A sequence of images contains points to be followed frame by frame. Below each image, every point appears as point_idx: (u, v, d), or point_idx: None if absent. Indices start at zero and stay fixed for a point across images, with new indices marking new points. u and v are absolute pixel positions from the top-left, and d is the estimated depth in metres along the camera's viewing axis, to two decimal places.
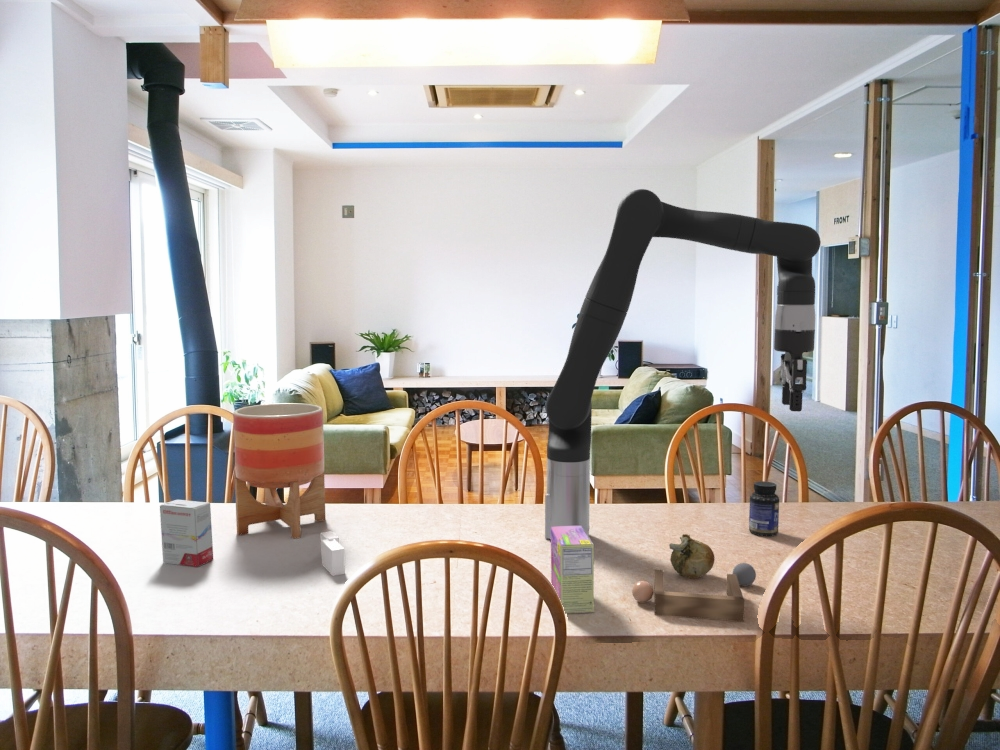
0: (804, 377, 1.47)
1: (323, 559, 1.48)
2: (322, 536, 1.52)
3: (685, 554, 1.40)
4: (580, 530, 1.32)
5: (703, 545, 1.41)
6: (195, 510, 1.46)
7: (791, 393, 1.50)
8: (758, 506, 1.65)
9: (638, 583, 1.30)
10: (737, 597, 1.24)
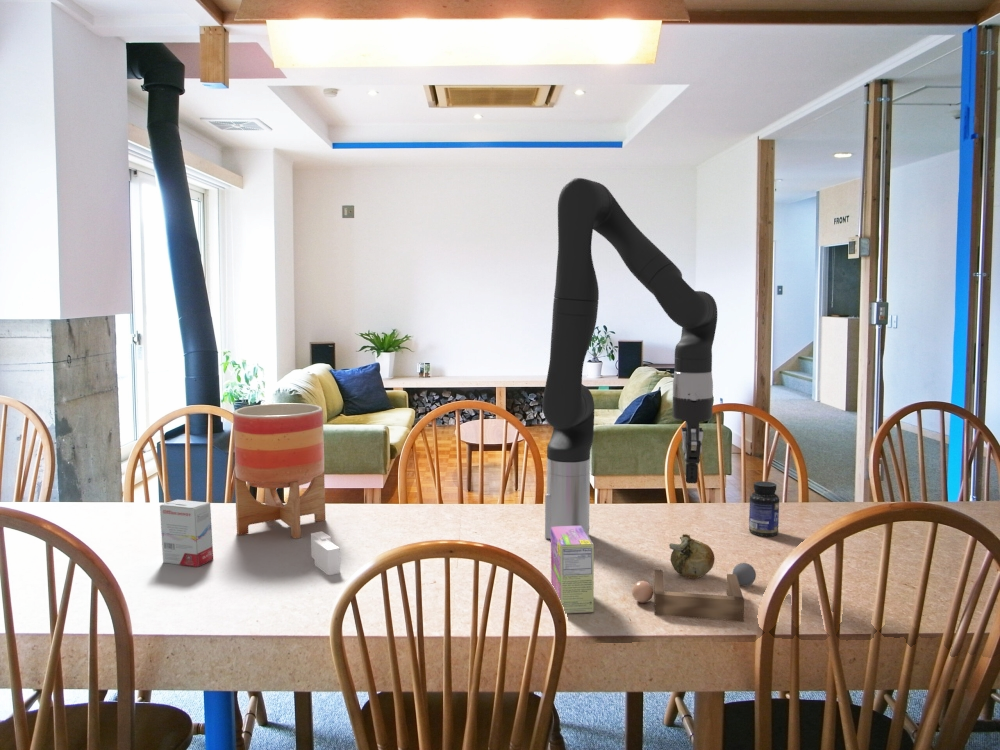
0: (697, 456, 1.45)
1: (316, 559, 1.48)
2: (313, 536, 1.52)
3: (685, 554, 1.40)
4: (580, 530, 1.32)
5: (703, 545, 1.41)
6: (195, 510, 1.46)
7: (686, 465, 1.49)
8: (758, 506, 1.65)
9: (638, 583, 1.30)
10: (737, 597, 1.24)
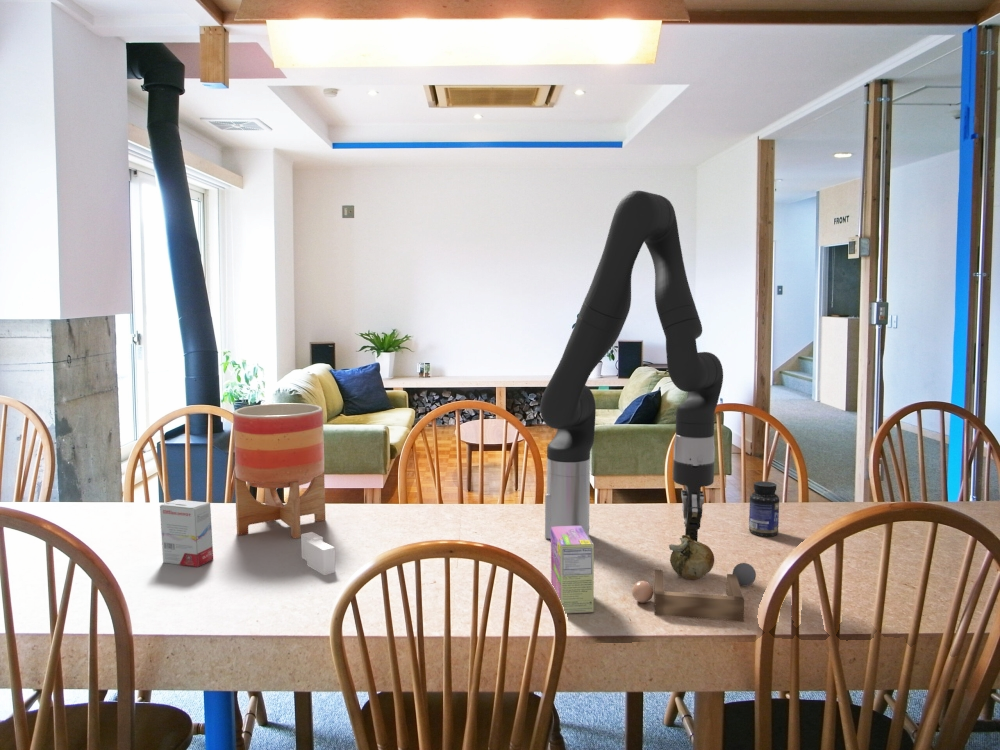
0: (698, 522, 1.42)
1: (309, 560, 1.48)
2: (304, 537, 1.51)
3: (684, 555, 1.40)
4: (580, 530, 1.32)
5: (703, 546, 1.41)
6: (195, 510, 1.46)
7: (686, 529, 1.46)
8: (758, 506, 1.65)
9: (638, 583, 1.30)
10: (737, 597, 1.24)
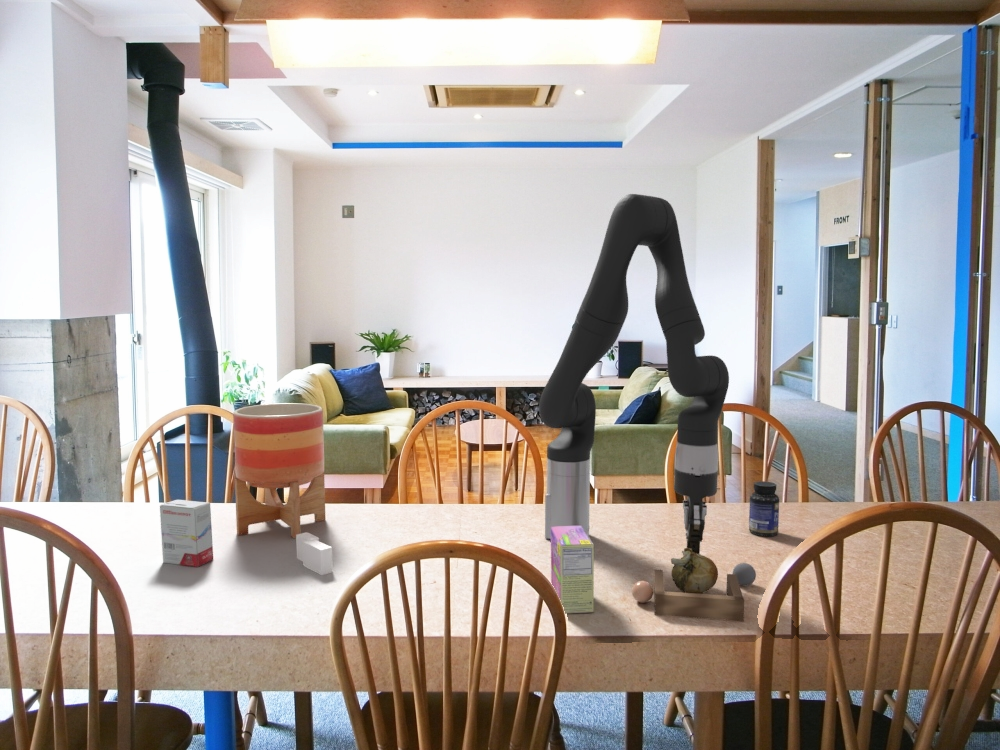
0: (700, 535, 1.34)
1: (305, 560, 1.47)
2: (299, 538, 1.51)
3: (687, 570, 1.32)
4: (580, 530, 1.32)
5: (706, 559, 1.34)
6: (195, 510, 1.46)
7: (688, 541, 1.39)
8: (758, 506, 1.65)
9: (638, 583, 1.30)
10: (737, 597, 1.24)
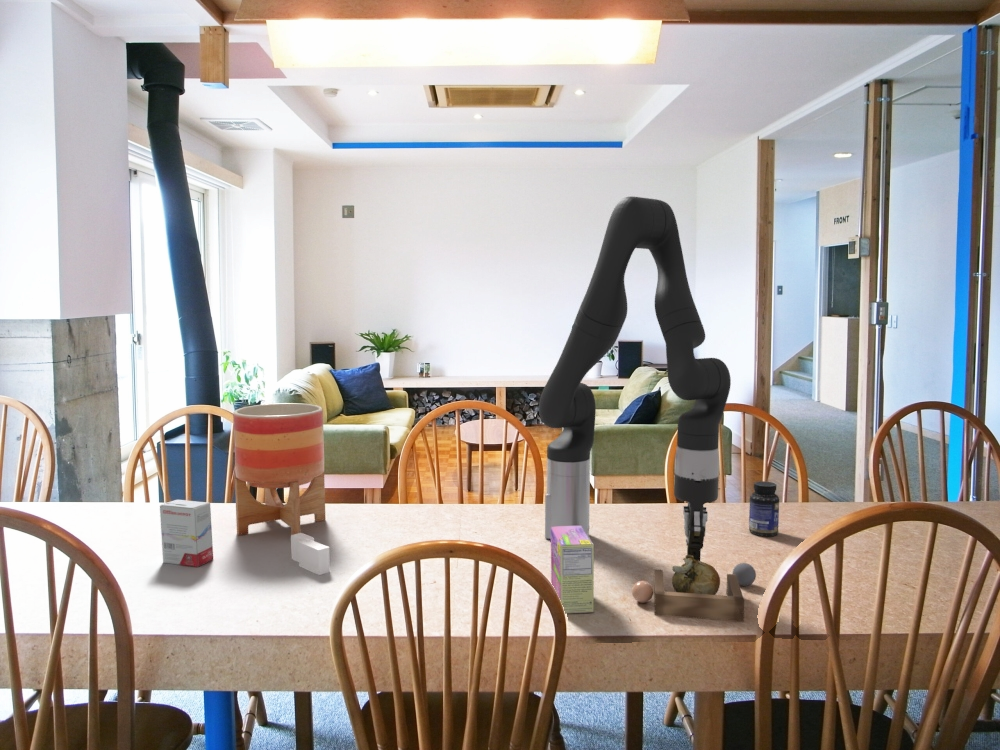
0: (701, 541, 1.31)
1: (301, 560, 1.47)
2: (294, 538, 1.51)
3: (689, 577, 1.29)
4: (580, 530, 1.32)
5: (708, 566, 1.30)
6: (195, 510, 1.46)
7: (688, 548, 1.35)
8: (758, 506, 1.65)
9: (638, 583, 1.30)
10: (737, 597, 1.24)
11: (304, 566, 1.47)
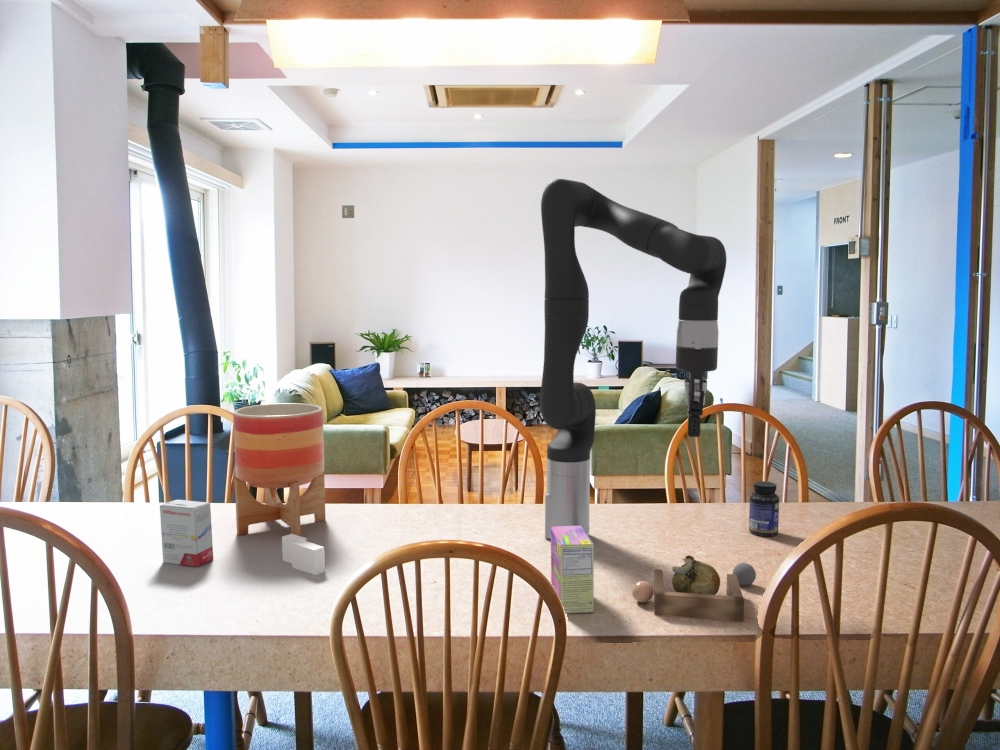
0: (700, 407, 1.39)
1: (295, 561, 1.47)
2: (285, 539, 1.50)
3: (689, 578, 1.29)
4: (580, 530, 1.32)
5: (708, 567, 1.30)
6: (195, 510, 1.46)
7: (689, 418, 1.43)
8: (758, 506, 1.65)
9: (638, 583, 1.30)
10: (737, 597, 1.24)
11: (298, 567, 1.46)
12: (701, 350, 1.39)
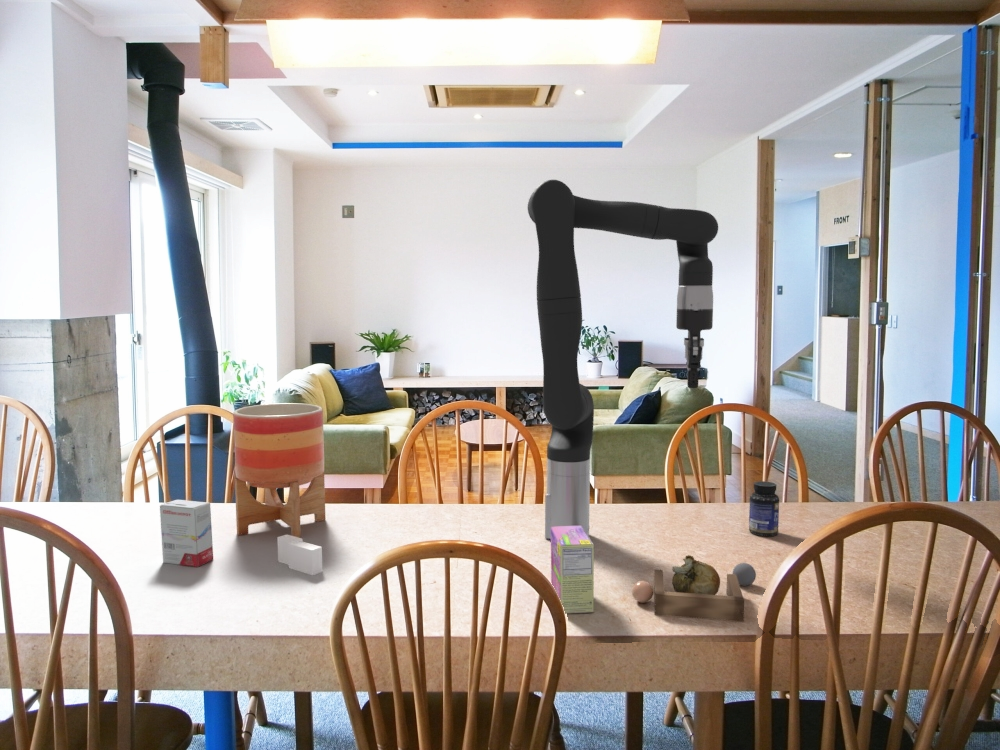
0: (698, 361, 1.60)
1: (292, 562, 1.46)
2: (281, 540, 1.49)
3: (689, 578, 1.29)
4: (580, 530, 1.32)
5: (708, 567, 1.30)
6: (195, 510, 1.46)
7: (688, 371, 1.65)
8: (758, 506, 1.65)
9: (638, 583, 1.30)
10: (737, 597, 1.24)
11: (295, 567, 1.46)
12: (698, 311, 1.60)
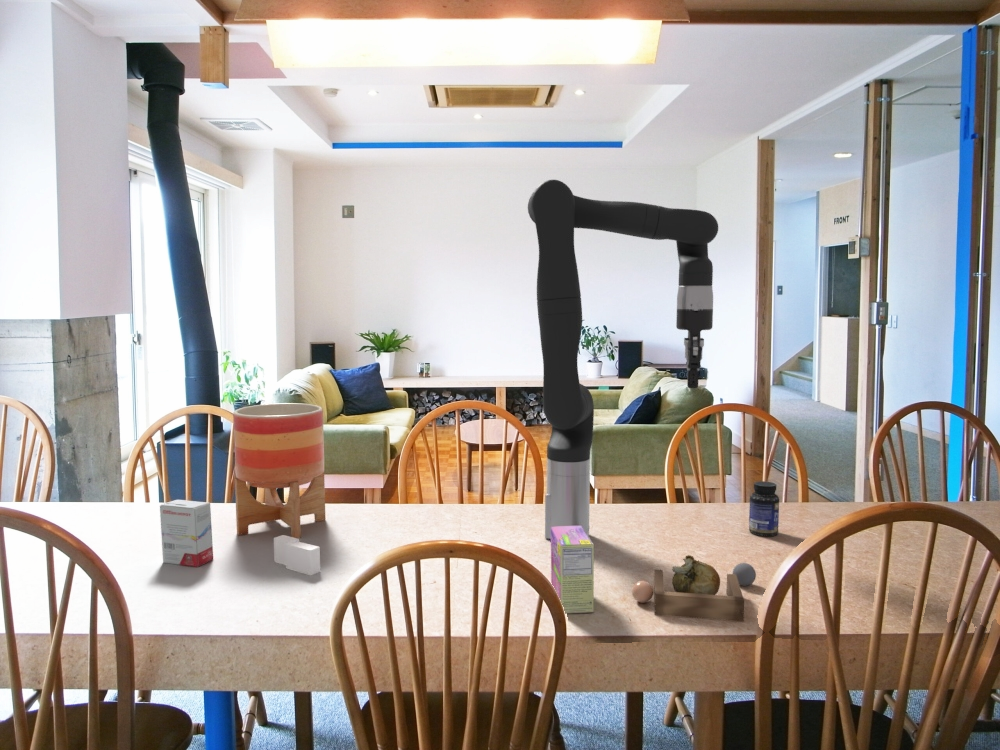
0: (698, 361, 1.60)
1: (289, 562, 1.46)
2: (278, 541, 1.49)
3: (689, 578, 1.29)
4: (580, 530, 1.32)
5: (708, 567, 1.30)
6: (195, 510, 1.46)
7: (688, 371, 1.65)
8: (758, 506, 1.65)
9: (638, 583, 1.30)
10: (737, 597, 1.24)
11: (292, 568, 1.46)
12: (698, 311, 1.60)
